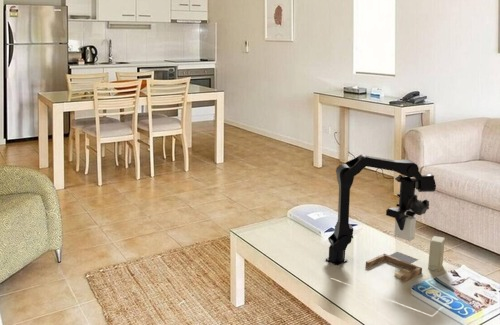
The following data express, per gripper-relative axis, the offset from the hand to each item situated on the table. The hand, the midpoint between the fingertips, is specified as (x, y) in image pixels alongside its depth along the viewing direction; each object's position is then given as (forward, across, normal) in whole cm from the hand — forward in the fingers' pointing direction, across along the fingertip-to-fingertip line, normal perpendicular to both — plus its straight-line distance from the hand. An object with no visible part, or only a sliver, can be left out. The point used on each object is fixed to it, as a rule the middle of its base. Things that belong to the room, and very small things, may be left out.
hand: (404, 229), depth 204 cm
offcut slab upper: (+13, -13, -9) cm, 20 cm away
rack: (+13, -12, -4) cm, 18 cm away
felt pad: (+13, 0, 0) cm, 13 cm away
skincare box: (+14, +3, -13) cm, 19 cm away
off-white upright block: (+4, 0, 0) cm, 4 cm away
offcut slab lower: (+14, -13, -9) cm, 21 cm away
